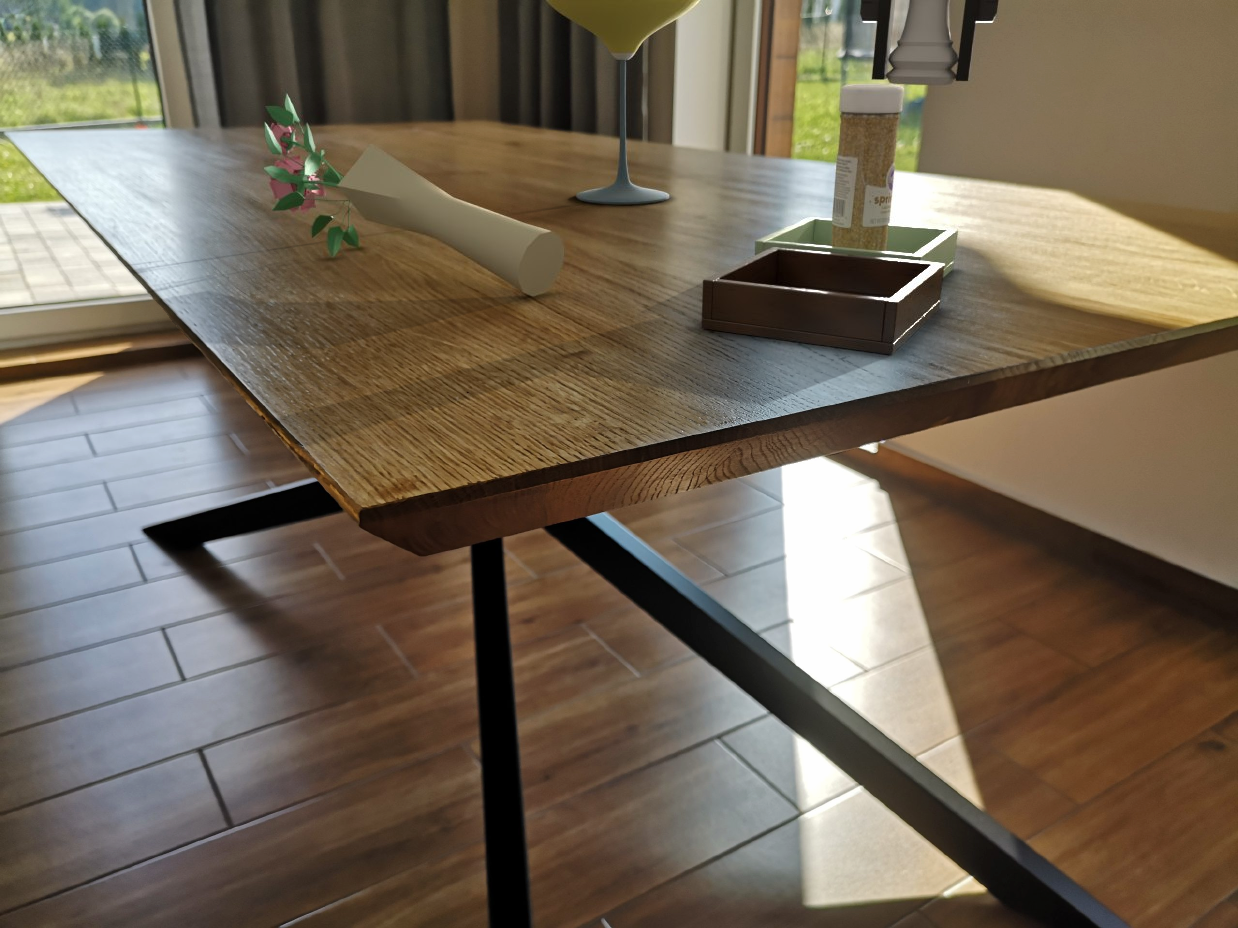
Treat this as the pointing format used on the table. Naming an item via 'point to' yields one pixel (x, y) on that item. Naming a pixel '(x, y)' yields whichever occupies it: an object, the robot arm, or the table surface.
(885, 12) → the robot arm
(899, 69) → the rook chess piece
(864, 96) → the sprinkles bottle
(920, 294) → the walnut bin
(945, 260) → the green bin
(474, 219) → the flower vase
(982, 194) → the table surface
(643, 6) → the cocktail glass
